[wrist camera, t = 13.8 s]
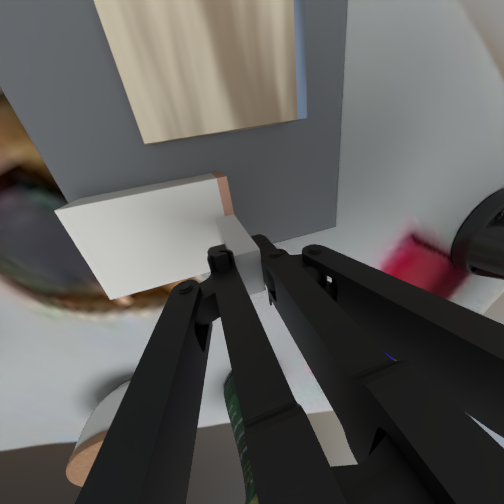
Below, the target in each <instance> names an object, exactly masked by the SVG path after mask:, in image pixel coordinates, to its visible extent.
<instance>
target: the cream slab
mask: <svg viewBox="0 0 504 504" xmlns="http://www.w3.org/2000/svg"><path fill="white" fill-rule="evenodd" d="M55 213H56V215H57V216H58V218H59V219H60V221H61V222H62V224H63V226H64V227H65V229H66V230H67V232H68V234H69V235H70V237H71V238H72V240H73V241H74V243H75V245H76V246H77V248H78V249H79V251H80V253H81V254H82V256H83V257H84V259H85V260H86V262H87V264H88V265H89V267H90V268H91V270H92V271H93V273H94V275H95V276H96V278H97V279H98V281H99V283H100V284H101V286H102V287H103V289H104V290H105V292H106V294H107V295H108V297H109V298H110V300H112V299H115V298H119V297H122V296H126V295H130V294H133V293H137V292H140V291H144V290H147V289H151V288H154V287H158V286H162V285H165V284H169V283H172V282H176V281H179V280H183V279H187V278H190V277H194V276H197V275H201V274H204V273H208V272H211V271H210V267H209V264H208V261H207V257H208V253H207V251H208V249H209V248H210V247H214V246H217V245H221V240H220V236H219V232H218V228H217V224H216V220H215V219H216V218H220V217H224V216H228V215H233V214H234V211H233V206H232V201H231V196H230V191H229V186H228V181H227V176H225V175H224V174H223V173H221V172H220V171H218V172H213V173H208V174H203V175H198V176H193V177H187V178H182V179H177V180H172V181H167V182H162V183H157V184H151V185H146V186H141V187H136V188H131V189H126V190H120V191H115V192H110V193H105V194H100V195H95V196H90V197H84V198H80V199H78V200H75V201H73V202H71V203H69V204H67V205H65V206H63V207H61V208H59V209H57V210H55Z"/></svg>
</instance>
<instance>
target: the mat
mask: <svg viewBox="0 0 504 504" xmlns="http://www.w3.org/2000/svg"><path fill="white" fill-rule="evenodd" d="M347 3H348V0H305V14H306V82H307V118H305V119H301V120H297V121H293V122H289V123H284V124H278V125H272V126H266V127H260V128H253V129H247V130H241V131H235V132H229V133H222V134H216V135H210V136H204V137H198V138H191V139H185V140H179V141H173V142H166V143H160V144H154V145H150V144H144V141H143V138H142V136H141V133H140V130H139V127H138V124H137V122H136V119H135V116H134V113H133V110H132V107H131V105H130V102H129V99H128V96H127V93H126V91H125V88H124V85H123V82H122V79H121V76H120V74H119V71H118V68H117V65H116V62H115V60H114V57H113V54H112V51H111V48H110V46H109V43H108V40H107V37H106V34H105V31H104V29H103V26H102V23H101V20H100V17H99V15H98V12H97V9H96V6H95V3H94V0H0V87H1V89H2V91H3V92H4V94H5V96H6V97H7V99H8V101H9V103H10V104H11V106H12V108H13V109H14V111H15V113H16V114H17V116H18V118H19V120H20V121H21V123H22V125H23V126H24V128H25V130H26V131H27V133H28V135H29V137H30V138H31V140H32V142H33V143H34V145H35V147H36V149H37V150H38V152H39V154H40V155H41V157H42V159H43V160H44V162H45V164H46V166H47V167H48V169H49V171H50V172H51V174H52V176H53V178H54V179H55V181H56V183H57V184H58V186H59V188H60V189H61V191H62V193H63V195H64V196H65V198H66V200H67V201H68V203H71V202H73V201H75V200H78V199H80V198H84V197H90V196H95V195H100V194H105V193H110V192H115V191H120V190H126V189H131V188H136V187H141V186H146V185H151V184H157V183H162V182H167V181H172V180H177V179H182V178H187V177H193V176H198V175H203V174H208V173H213V172H218V171H220V172H221V173H223V174H224V175H225V176H227V181H228V186H229V191H230V196H231V201H232V206H233V211H234V215H235V216H236V218H237V219H238V220H239V222H240V223H241V224H242V226H243V227H244V229H245V230H246V231H247V233H248V234H249V235H250V236H254V235H258V234H261V235H264V236H266V237H267V238H268V240H269V241H270V242H271V243H272V244H273V243H277V242H280V241H284V240H288V239H291V238H295V237H299V236H302V235H306V234H310V233H313V232H317V231H321V230H325V229H328V228H332V227H336V210H337V191H338V172H339V154H340V135H341V116H342V97H343V79H344V60H345V41H346V22H347Z"/></svg>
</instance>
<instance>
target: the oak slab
mask: <svg viewBox="0 0 504 504" xmlns="http://www.w3.org/2000/svg"><path fill="white" fill-rule="evenodd" d="M94 3H95V6H96V9H97V12H98V15H99V17H100V20H101V23H102V26H103V29H104V31H105V34H106V37H107V40H108V43H109V46H110V48H111V51H112V54H113V57H114V60H115V62H116V65H117V68H118V71H119V74H120V76H121V79H122V82H123V85H124V88H125V91H126V93H127V96H128V99H129V102H130V105H131V107H132V110H133V113H134V116H135V119H136V122H137V124H138V127H139V130H140V133H141V136H142V138H143V141H144V144H150V145H154V144H160V143H166V142H173V141H179V140H185V139H191V138H198V137H204V136H210V135H216V134H222V133H229V132H235V131H241V130H247V129H253V128H260V127H266V126H272V125H278V124H284V123H289V122H293V121H297V120H301V119H305V118H307V82H306V14H305V0H94Z"/></svg>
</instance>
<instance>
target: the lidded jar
mask: <svg viewBox="0 0 504 504" xmlns="http://www.w3.org/2000/svg"><path fill="white" fill-rule="evenodd" d="M130 381H131V380H129V381H127V382H125V383H123V384H121V385H120V386H119V387H118V388H117V389H116V390H114V391H113V392H111V393H110V394H109V395H107V396H106V397H105V398H104V399H103V400H102V401H101V402H100V403H99V404H98V406H97V407H96V408H95V409H94V411H93V412H92V414H91V415H90V417H89V419H88V420H87V422H86V424H85V426H84V428H83V430H82V432H81V435H80V437H79V439H78V442H77V444H76V447H75V450H74V452H73V453H72V455H71V457H70V460H69V462H68V465H67V468H66V475H67V478H68V479H69V480H70V481H71V482H72V483H73V484H75V485H78V486H81V487H83V485H84V482H85V480H86V478H87V476H88V474H89V471H90V469H91V467H92V465H93V463H94V460H95V458H96V456H97V454H98V452H99V449H100V447H101V445H102V443H103V441H104V438H105V436H106V434H107V432H108V430H109V427H110V425H111V423H112V421H113V419H114V416H115V414H116V412H117V410H118V408H119V405H120V403H121V401H122V399H123V397H124V394H125V392H126V390H127V388H128V386H129V383H130Z"/></svg>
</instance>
